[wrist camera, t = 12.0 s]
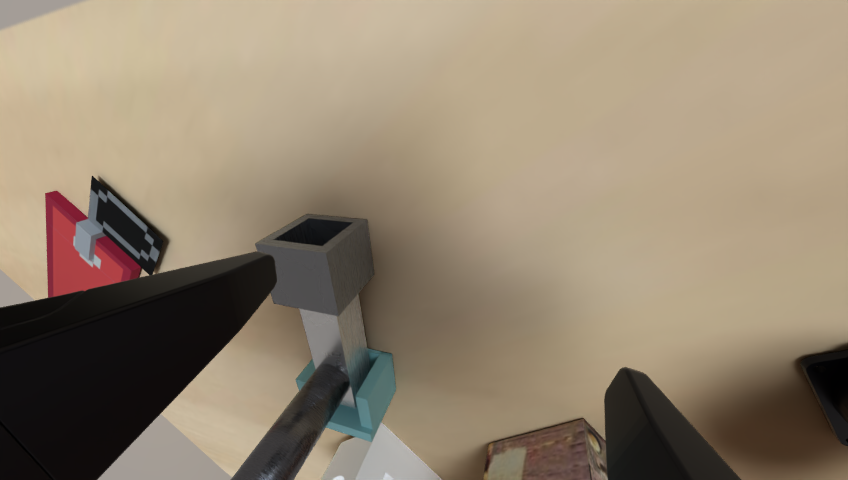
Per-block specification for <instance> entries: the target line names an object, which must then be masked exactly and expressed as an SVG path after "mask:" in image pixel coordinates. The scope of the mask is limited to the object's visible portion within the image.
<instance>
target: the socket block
mask: <svg viewBox="0 0 848 480" xmlns="http://www.w3.org/2000/svg"><path fill="white" fill-rule="evenodd" d="M367 349H368V348H367ZM368 356H369V362H370V368H371V370H370V372H369V374H368V375H367V377H366V379H365V381H364V382H363V384H362V386H361V388H360V389H359V391H358V393H357V394H356V396H355V397H356V402H357V407H356V409H355V408H351V407H348V406H345V405H341V404H340V405H339V407H338V408H337V410H336V411H335V413H334V415H333V416H332V418H331V420H330V421H329V423H328V425H327V426H326V428H329V429H332V430H335V431H339V432H342V433H345V434H348V435H351V436H354V437H357V438H360V439H363V440H366V441H369V442H372V441H373V439H374V436H375V434H376V432H377V430H378V428H379V426H380V423H381V421H382V419H383V417H384V415H385V413H386V410H387V408H388V406H389V404H390V402H391V400H392V397H393V395H394V393H395V391H396V385H395V376H394V367H393V359H392V354H390V353H386V352H381V351H377V350H373V349H368ZM315 370H316V369H315V365H314V362H313V359H312V360H311V361H310V363H309V364H308V365H307V366H306V367H305V369H304V370H303V371H302V372H301V374H300V375H299V376H298V377H297V379H296V382H297V386H298V389H299V391H300V389H301V388H302V387H303V385H304V384H305V383H306V382H307V380H308V379H309V378H310V376H311V375H312V374H313V372H314V371H315Z"/></svg>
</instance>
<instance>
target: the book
mask: <svg viewBox="0 0 848 480" xmlns="http://www.w3.org/2000/svg"><path fill="white" fill-rule="evenodd" d="M483 480H608V478H607V466H606V441H605V440H604V439H603V438H602V437H601V436H600V435H599V434H598V433H597V432H596V431H595V430H594V429H593V428H592V427H591V426H590V425H589V424H588V423H587V421H586V420H585V419H581V420H577V421H573V422H570V423H566V424H562V425H558V426H554V427H551V428H547V429H543V430H539V431H535V432H532V433H528V434H524V435H520V436H516V437H513V438H509V439H505V440H501V441H498V442H494V443H490V444H489V445H488V450H487V457H486V464H485V471H484V478H483Z"/></svg>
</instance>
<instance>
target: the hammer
mask: <svg viewBox="0 0 848 480" xmlns="http://www.w3.org/2000/svg"><path fill="white" fill-rule="evenodd" d="M299 310H300V314H301V317H302V321H303V325H304V328H305V332H306V336H307V339H308V343H309V347H310V350H311V354H312V358H313V362H314V365H315V369H316V370H315V371H314V372H313V374H312V375H311V376H310V378H309V379H308V380H307V382H306V383H305V384H304V385H303V387H302V388H301V389H300V391H299V392H298V393H297V394H296V396H295V397H294V398H293V400H292V401H291V402H290V404H289V405H288V406H287V407H286V409H285V410H284V411H283V413H282V414H281V415H280V417H279V418H278V419H277V420H276V422H275V423H274V424H273V426H272V427H271V428H270V430H269V431H268V432H267V433H266V435H265V436H264V437H263V439H262V440H261V441H260V442H259V444H258V445H257V446H256V448H255V449H254V450H253V452H252V453H251V454H250V455H249V457H248V458H247V459H246V461H245V462H244V463H243V465H242V466H241V467H240V468H239V470H238V471H237V472H236V474H235V475H234V476H233V478H232V479H231V480H294V478H295V477H296V475H297V473H298V472H299V470H300V469H301V467H302V465H303V464H304V462H305V460H306V459H307V457H308V456H309V454H310V452H311V451H312V449H313V447H314V446H315V444H316V442H317V441H318V439H319V438H320V436H321V434H322V433H323V431H324V429H325V428H326V426H327V425H328V423H329V421H330V420H331V418H332V416H333V415H334V413H335V411H336V410H337V408H338V407H339V405H340V404H341V405H345V406H348V407H351V408H355V409H356V407H357V402H356V397H355V396H356V394H357V393H358V391H359V389H360V388H361V386H362V384H363V382H364V381H365V379H366V377H367V375H368V374H369V372H370V370H371V368H370V362H369V356H368V349H367V343H366V337H365V331H364V325H363V319H362V313H361V306H360V300H359V294H357V295H356V297H355V298H354V299H353V300H352V301H351V303H350V304H349V305H348V306H347V307H346V308H345V310H344V311H343V312H342V313H341V314H340V316H334V315H329V314H324V313H319V312H314V311H309V310H304V309H299Z"/></svg>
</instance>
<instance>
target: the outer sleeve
mask: <svg viewBox="0 0 848 480" xmlns="http://www.w3.org/2000/svg"><path fill="white" fill-rule="evenodd" d="M255 245H256V248H257V251H258V252H264V253H267V254H270V255H272V256H273V257H274V259H275V266H276V274H277V283H276V285H275V287H274V289H273V290H272V291H271V292H270V293H271V296H272V299H273V302H274V304H279V305H284V306H289V307H294V308H299V309H304V310H309V311H314V312H319V313H324V314H329V315H334V316H340V314H341V313H342V312H343V311H344V310H345V308H346V307H347V306H348V305H349V304H350V303H351V301H352V300H353V299H354V298H355V297H356V295H357V294H358V293H359V292H360V291H361V290H362V288H363V287H364V286H365V285H366V284H367V282H368V281H369V280H370V279H371V278H372V277H373V275H374V268H373V260H372V253H371V245H370V237H369V230H368V222H367V219H356V218H346V217H335V216H324V215H313V214H306V215H304V216H302V217H301V218H299V219H297V220H295V221H294V222H292V223H290V224H288V225H287V226H285V227H283V228H281V229H280V230H278V231H276V232H274V233H273V234H271V235H269V236H268V237H266V238H264V239H262V240H261V241H259V242H257V243H255Z"/></svg>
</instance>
